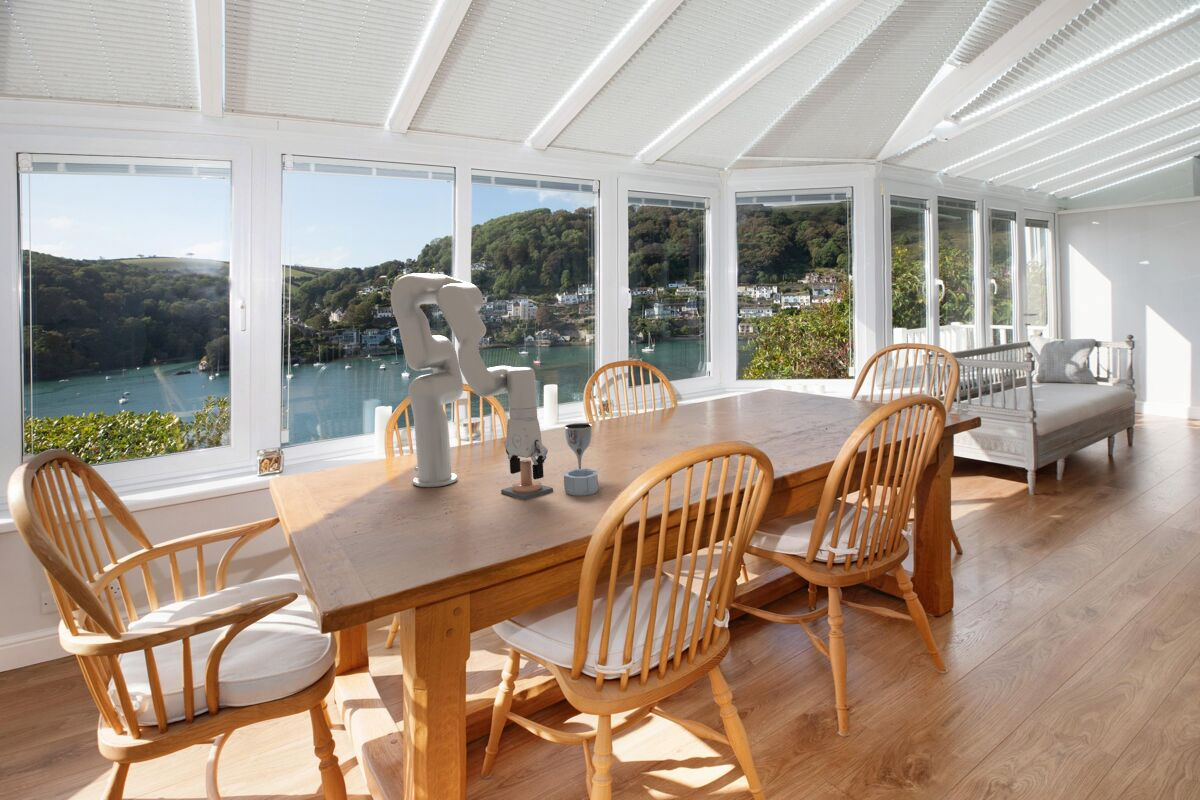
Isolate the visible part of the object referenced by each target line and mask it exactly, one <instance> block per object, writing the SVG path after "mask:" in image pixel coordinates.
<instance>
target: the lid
mask: <svg viewBox="0 0 1200 800" xmlns="http://www.w3.org/2000/svg"><path fill="white" fill-rule="evenodd" d="M542 485H543V484H542V482H541V481H538V480H533V468H532V459H522V460H520V481H517V482H514V483H512V485H511V487H512V490H513V491H514V492H517V493H531V492H536V491H539V490H541V489H542Z"/></svg>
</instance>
